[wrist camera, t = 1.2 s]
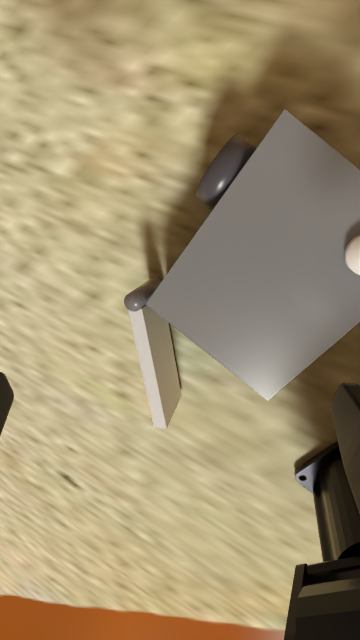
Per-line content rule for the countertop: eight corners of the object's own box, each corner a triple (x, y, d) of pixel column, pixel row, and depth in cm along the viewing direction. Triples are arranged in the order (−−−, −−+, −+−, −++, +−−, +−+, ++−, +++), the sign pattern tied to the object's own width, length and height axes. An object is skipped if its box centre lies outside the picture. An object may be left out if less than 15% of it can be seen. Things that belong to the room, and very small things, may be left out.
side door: (163, 395, 22) (145, 429, 19) (140, 278, 20) (114, 294, 16) (183, 396, 22) (168, 430, 19) (161, 276, 19) (139, 292, 16)
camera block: (267, 363, 20) (267, 407, 15) (153, 272, 19) (122, 292, 15) (408, 233, 15) (459, 246, 11) (262, 115, 15) (259, 83, 11)
